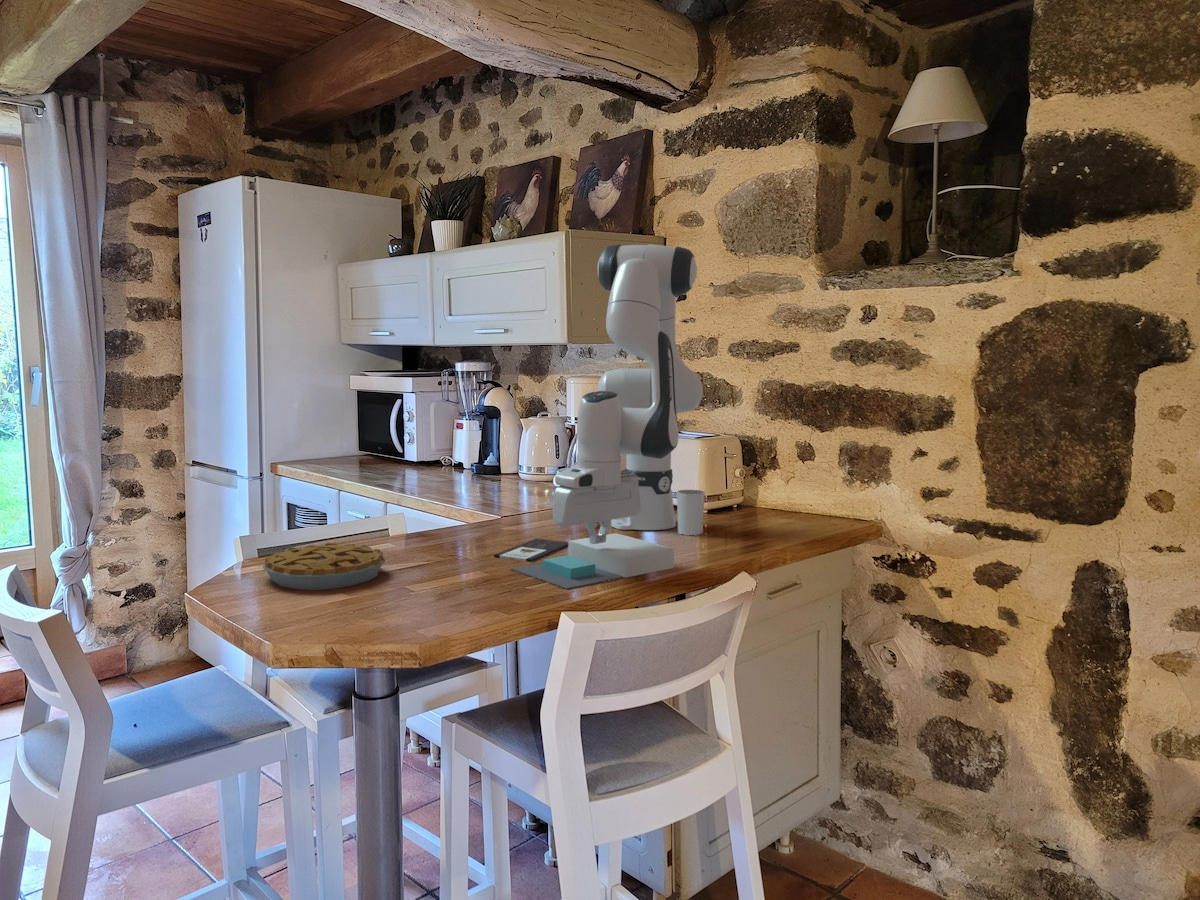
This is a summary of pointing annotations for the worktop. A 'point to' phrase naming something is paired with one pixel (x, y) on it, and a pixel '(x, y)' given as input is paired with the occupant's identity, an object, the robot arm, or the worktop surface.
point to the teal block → (569, 567)
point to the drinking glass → (690, 511)
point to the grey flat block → (623, 555)
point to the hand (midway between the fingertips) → (597, 542)
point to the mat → (562, 581)
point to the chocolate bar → (532, 550)
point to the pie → (324, 566)
